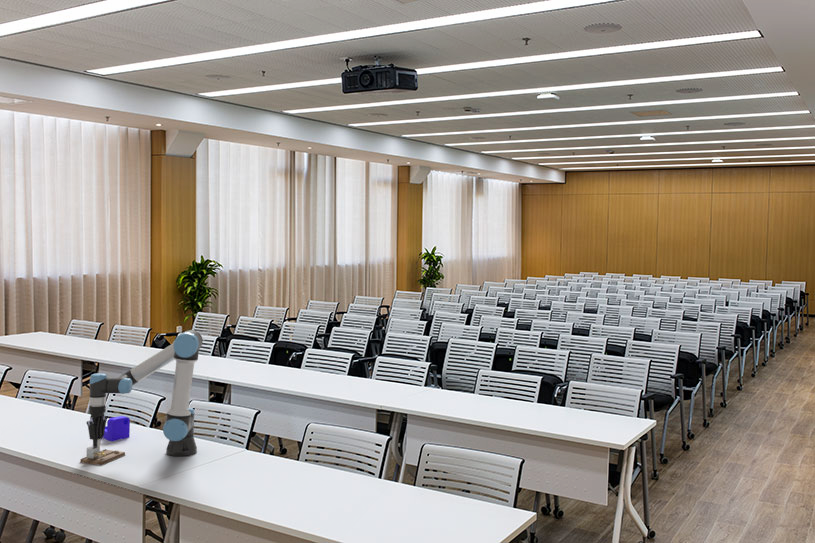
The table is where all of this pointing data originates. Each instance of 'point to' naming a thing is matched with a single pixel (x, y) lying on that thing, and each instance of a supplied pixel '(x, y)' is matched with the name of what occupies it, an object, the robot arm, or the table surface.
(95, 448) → the slider with brass pointer
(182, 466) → the table surface
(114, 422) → the bracket
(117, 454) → the wooden knob panel
